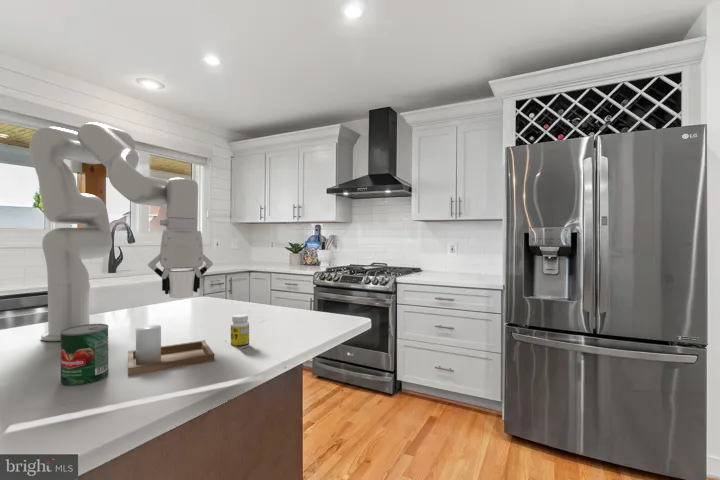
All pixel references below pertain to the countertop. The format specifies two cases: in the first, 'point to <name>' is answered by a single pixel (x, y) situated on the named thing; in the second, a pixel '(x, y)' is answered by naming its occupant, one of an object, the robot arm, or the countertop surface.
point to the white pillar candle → (148, 344)
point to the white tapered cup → (181, 283)
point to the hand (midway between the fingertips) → (181, 291)
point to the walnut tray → (173, 357)
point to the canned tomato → (84, 354)
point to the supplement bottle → (240, 331)
